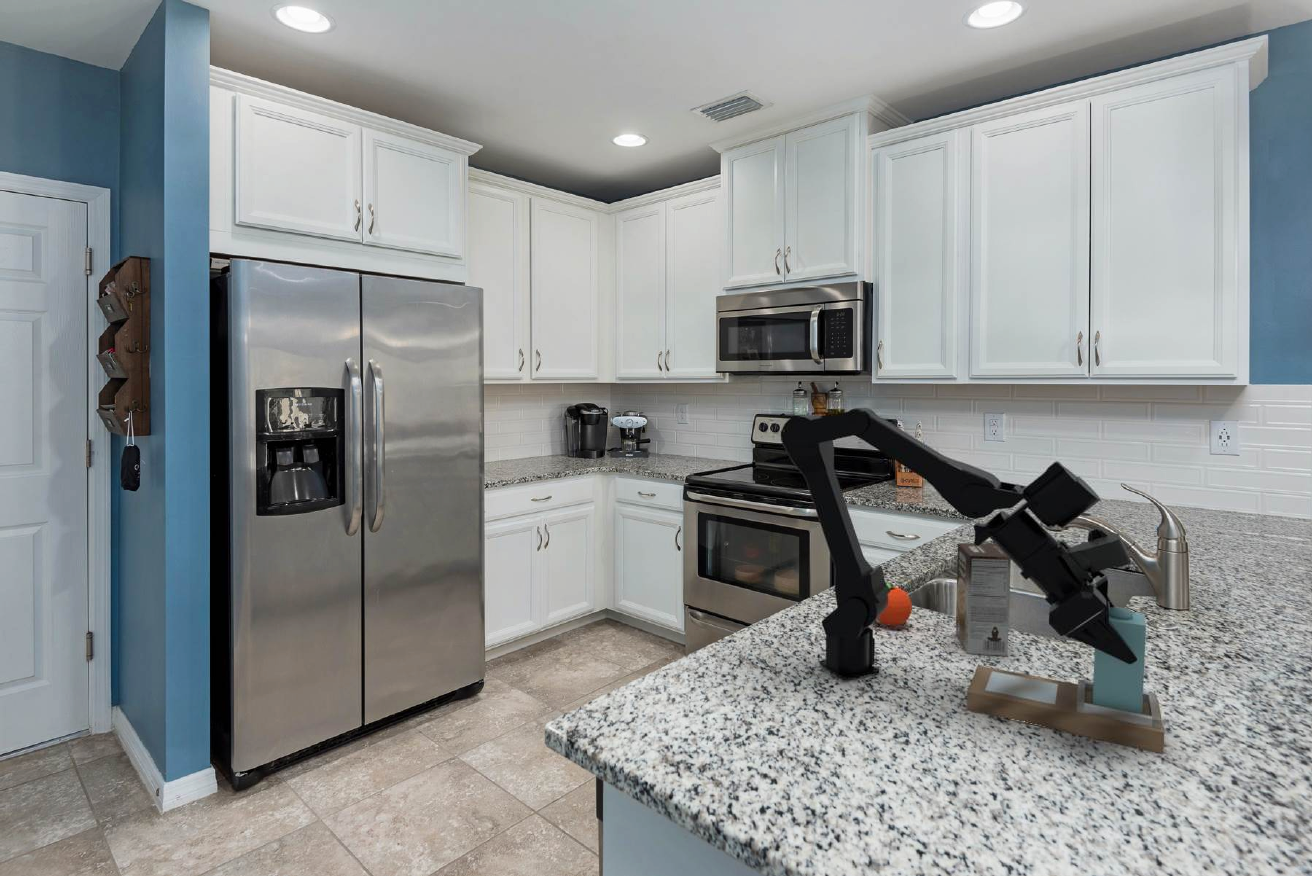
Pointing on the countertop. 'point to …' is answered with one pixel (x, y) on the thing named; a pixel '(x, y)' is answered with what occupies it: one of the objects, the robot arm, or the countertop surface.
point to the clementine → (896, 607)
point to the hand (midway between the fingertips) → (1132, 649)
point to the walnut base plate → (1064, 708)
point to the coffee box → (983, 599)
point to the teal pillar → (1122, 666)
